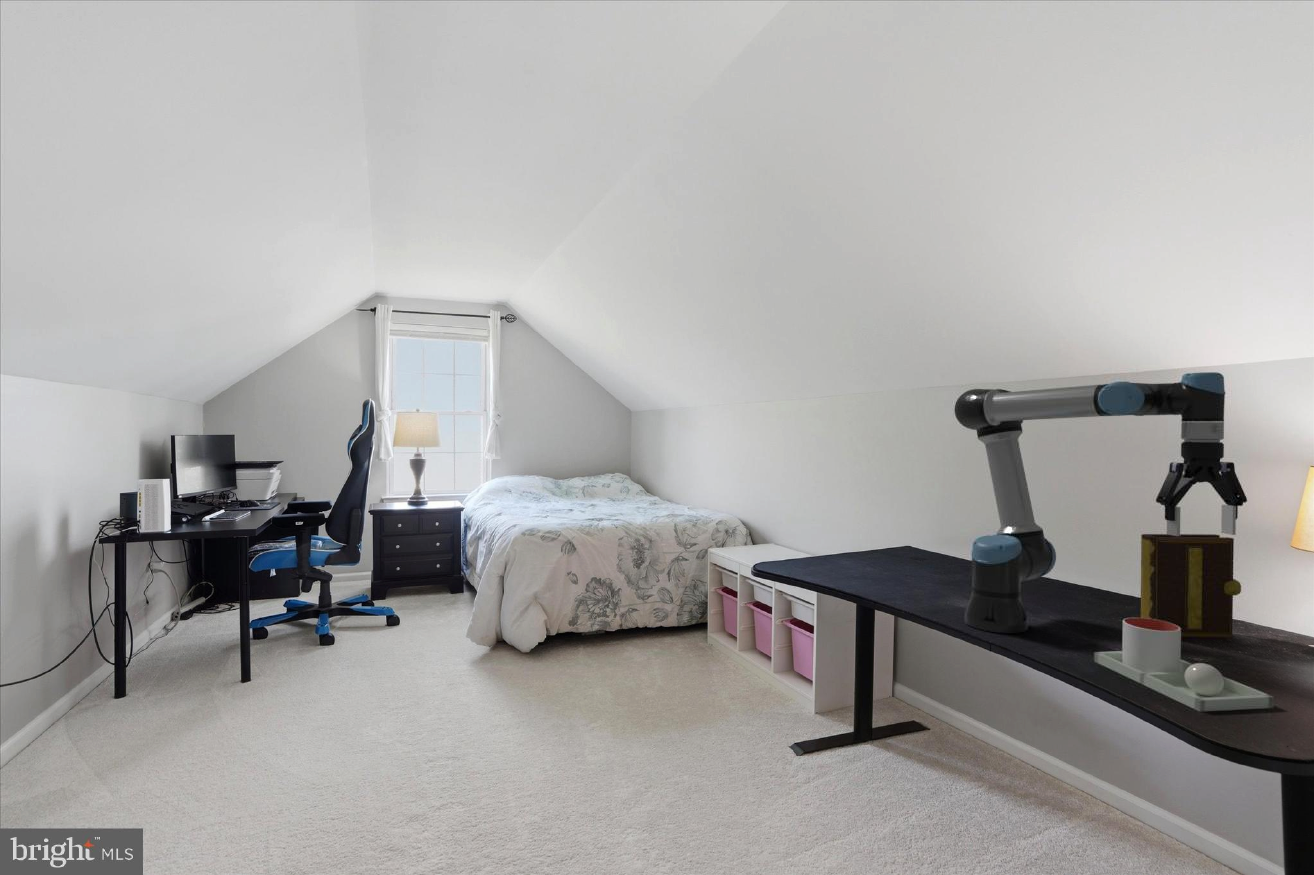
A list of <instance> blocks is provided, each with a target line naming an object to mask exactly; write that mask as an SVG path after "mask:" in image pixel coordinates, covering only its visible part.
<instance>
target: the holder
mask: <svg viewBox="0 0 1314 875" xmlns="http://www.w3.org/2000/svg"><path fill="white" fill-rule="evenodd" d="M1093 654H1094V656H1093V661H1094V662H1095V663H1097V664H1098V665H1101V666H1103V667H1105V668H1108V669H1110V670H1111V671H1113V672H1116V673H1118V674H1120V675H1122V676H1124V677H1126V678H1128V679H1131V680H1132V681H1135V682H1136V683H1139V684H1142V685H1143V686H1145V687H1147V688H1150V689H1152V690H1153V691H1156V692H1157V693H1160V694H1163V695H1164V696H1166V697H1168V698H1170V699H1173V700H1174V701H1176V702H1179V703H1181V704H1183V705H1186V706H1187V707H1190V708H1191V709H1194V710H1195V711H1197V712H1216V711H1217V712H1218V711H1235V710H1236V711H1238V710H1254V709H1255V710H1256V709H1258V710H1259V709H1274V707H1275V702H1274V701H1275V697H1274V696H1272V695H1270V694H1267V693H1265V692H1263V691H1261V690H1258V689H1255V688H1254V687H1250V686H1247V685H1245V684H1243V683H1240V682H1238V681H1236V680H1233V679H1230V678H1228V677H1226V676H1223V679H1224V687H1223V689H1222V690H1221V692H1219V693H1218V694H1216V695H1212V696H1205V695H1201V694H1198V693H1196V692H1194V691H1193V690H1192V689H1190V688H1189V686H1188V685H1187V683H1186V681H1185V678H1184V674H1185V671H1186V669H1187V668H1188V667H1189V666H1190V665H1193V664H1194V663H1191V662H1188V661H1186V660H1183V659H1181V667H1180V671H1176V672H1153V673H1144V672H1142V671H1139V670H1137V669H1135V668H1133V667H1131V666H1128V665H1126V664H1124V663H1123V661H1122V650H1117V651H1115V650H1114V651H1094V652H1093Z"/></svg>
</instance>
